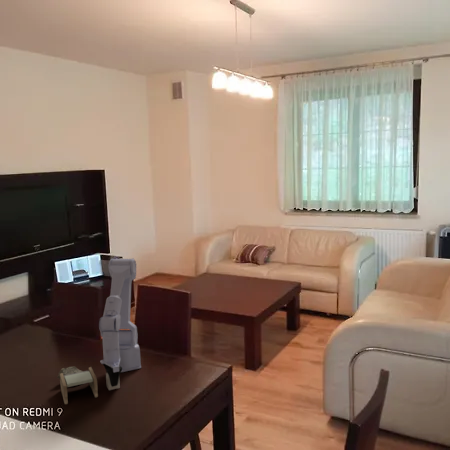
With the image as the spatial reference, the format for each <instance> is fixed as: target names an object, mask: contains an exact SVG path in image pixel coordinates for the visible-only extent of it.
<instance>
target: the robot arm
mask: <svg viewBox="0 0 450 450" xmlns="http://www.w3.org/2000/svg"><path fill="white" fill-rule="evenodd" d="M107 268H108V272H109V275H110V278H111V286H110V292H109V293H110V294H109V296H108V297H107V298H106V300H105V305H104V310H103V315H102V316H101V317H100V318H99V322H98V328H99V331H100V337H101V338H102V351H103V352H102V353H103V359H101V360H100V361H99V362H100V364H101V365H103V367H104V369H105V374H106V373H108V375H109V378H110V383H111V386H112V387H113V386H117V385H118V380H119V379H120V375H121V373H124V372H128V371H134V370H138V369H142V364H141V363H142V362H141V361H142V360H141V349H140V345H139V343H138V339H139V338H138V336H139V335H138V327H137V325H136V324H134V323H133V322H132V321H131V303H132V302H131V300H132V283H133V281H134V280H135V279H136V278H137V261H136V260H135V258H110V260H109V261H108V267H107Z"/></svg>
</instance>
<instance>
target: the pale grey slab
mask: <svg viewBox="0 0 450 450" xmlns="http://www.w3.org/2000/svg"><path fill="white" fill-rule="evenodd" d="M64 379H65V382H66V385H67V388H70V387H74V386H78V385H83V384H88V383H89V382H93V379H92V376H91V374H90V372H89V370H84V371H83V370H82V372H78V373H73V374H69V375H64ZM89 384H90V383H89Z"/></svg>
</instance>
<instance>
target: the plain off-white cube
mask: <svg viewBox="0 0 450 450" xmlns="http://www.w3.org/2000/svg"><path fill="white" fill-rule="evenodd" d="M105 380H106V388H107V389H108V391H113V390H115V389H116V390H117V389H120V388H121V385H120V383H121V381H120V378H119V380H118V385H117V386H113V387H112V386H111V383H110V378H109V375H108V373H106V372H105Z"/></svg>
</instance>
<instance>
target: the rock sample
mask: <svg viewBox="0 0 450 450" xmlns="http://www.w3.org/2000/svg"><path fill="white" fill-rule="evenodd" d="M78 372H83V370H80V369H79V368H77V367H76V366H69V367H63V368H61V369H60V370H59V372H58V375H57V378H56V379H59V380H60V373H63V375H69V374H73V373H78Z"/></svg>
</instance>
